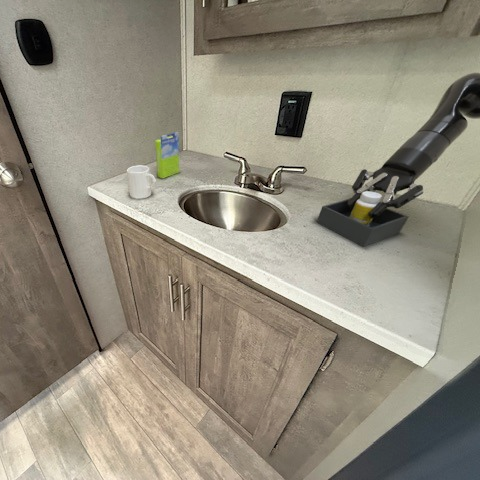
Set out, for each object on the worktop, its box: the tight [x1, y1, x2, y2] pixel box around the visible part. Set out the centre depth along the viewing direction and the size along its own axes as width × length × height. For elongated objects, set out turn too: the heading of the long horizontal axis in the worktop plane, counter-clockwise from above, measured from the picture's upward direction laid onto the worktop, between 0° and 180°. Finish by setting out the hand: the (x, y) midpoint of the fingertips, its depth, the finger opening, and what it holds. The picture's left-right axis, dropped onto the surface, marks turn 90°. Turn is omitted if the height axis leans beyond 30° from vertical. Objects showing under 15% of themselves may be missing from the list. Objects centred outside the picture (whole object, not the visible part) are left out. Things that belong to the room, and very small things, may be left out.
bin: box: [316, 197, 410, 248], centre depth 65 cm, size 13×13×5 cm
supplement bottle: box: [349, 191, 383, 226], centre depth 63 cm, size 5×5×8 cm
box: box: [154, 131, 180, 179], centre depth 103 cm, size 10×4×17 cm, turn 132°
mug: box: [126, 164, 157, 200], centre depth 88 cm, size 8×12×10 cm
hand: (359, 211), depth 62 cm, fingers closed on supplement bottle, 4 cm apart
